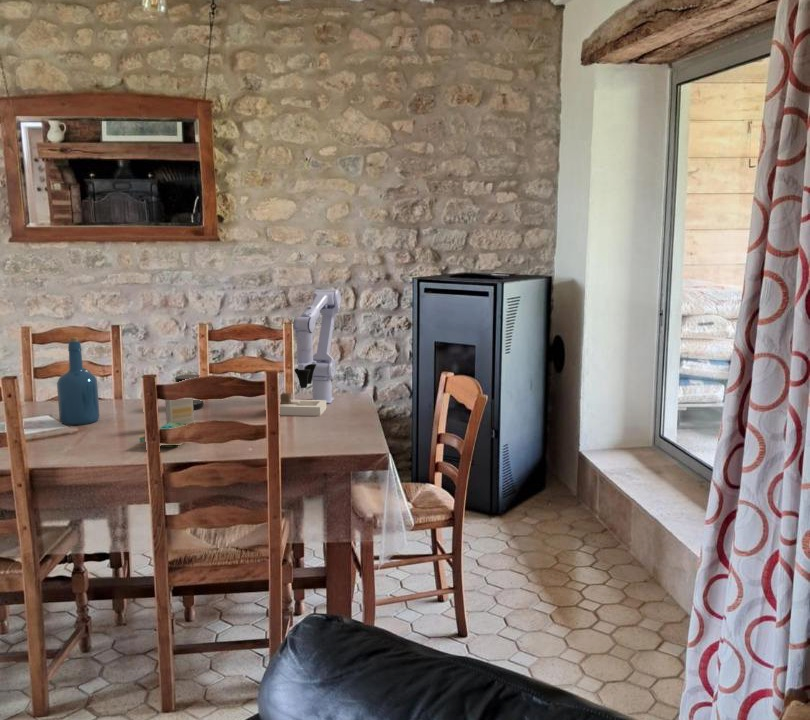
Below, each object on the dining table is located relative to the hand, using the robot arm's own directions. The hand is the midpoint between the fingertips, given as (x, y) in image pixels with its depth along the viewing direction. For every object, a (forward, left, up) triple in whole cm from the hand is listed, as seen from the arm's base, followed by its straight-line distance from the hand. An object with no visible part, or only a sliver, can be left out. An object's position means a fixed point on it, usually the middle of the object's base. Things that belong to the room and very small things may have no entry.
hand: (306, 385), depth 301 cm
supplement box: (+29, -37, -10) cm, 48 cm away
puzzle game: (+46, -33, -10) cm, 58 cm away
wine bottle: (+22, -76, -10) cm, 80 cm away
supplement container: (-2, -45, -10) cm, 46 cm away
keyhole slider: (+2, -7, -9) cm, 12 cm away
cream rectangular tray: (+2, -3, -9) cm, 10 cm away
